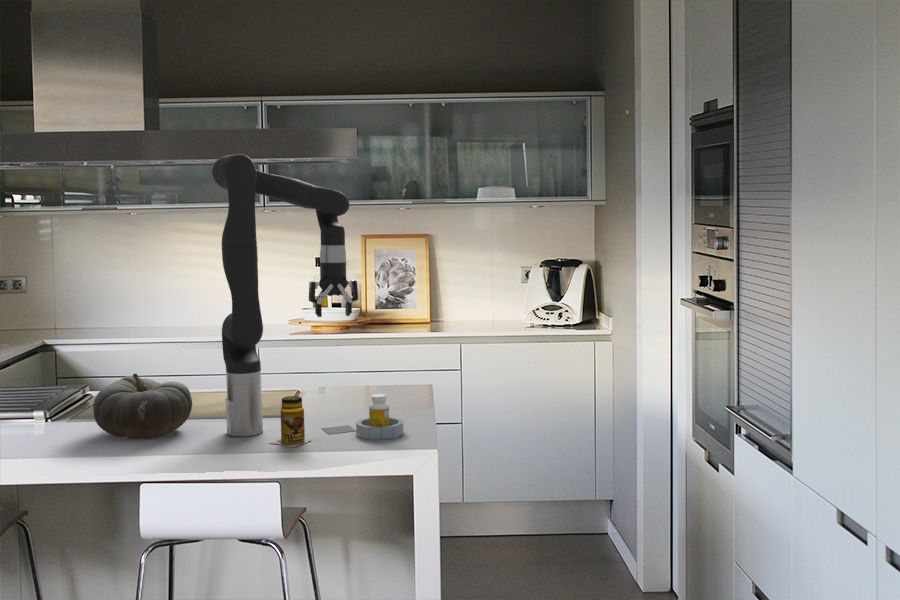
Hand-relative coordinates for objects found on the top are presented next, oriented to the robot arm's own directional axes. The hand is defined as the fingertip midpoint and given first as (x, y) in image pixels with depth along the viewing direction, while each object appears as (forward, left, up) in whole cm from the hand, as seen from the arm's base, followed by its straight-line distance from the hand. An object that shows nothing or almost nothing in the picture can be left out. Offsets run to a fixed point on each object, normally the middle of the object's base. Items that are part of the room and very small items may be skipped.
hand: (333, 316), depth 251 cm
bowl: (+5, -25, -30) cm, 39 cm away
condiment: (-19, -23, -30) cm, 42 cm away
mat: (-4, -16, -30) cm, 34 cm away
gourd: (-53, +4, -30) cm, 61 cm away
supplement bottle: (+5, -25, -29) cm, 39 cm away
